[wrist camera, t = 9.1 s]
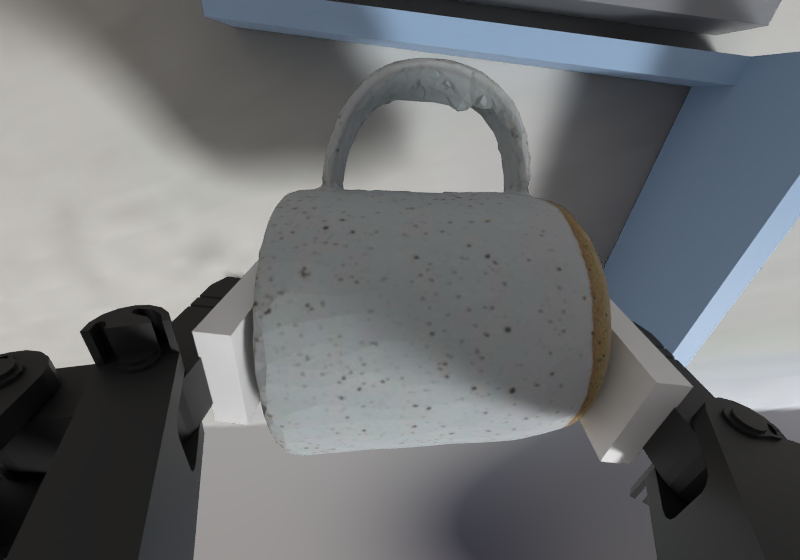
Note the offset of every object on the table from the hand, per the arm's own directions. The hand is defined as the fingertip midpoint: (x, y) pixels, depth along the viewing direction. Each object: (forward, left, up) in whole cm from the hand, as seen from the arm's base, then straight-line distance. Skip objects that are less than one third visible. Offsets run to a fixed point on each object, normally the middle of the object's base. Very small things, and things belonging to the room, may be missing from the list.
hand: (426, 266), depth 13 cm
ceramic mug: (+1, -1, -1) cm, 2 cm away
